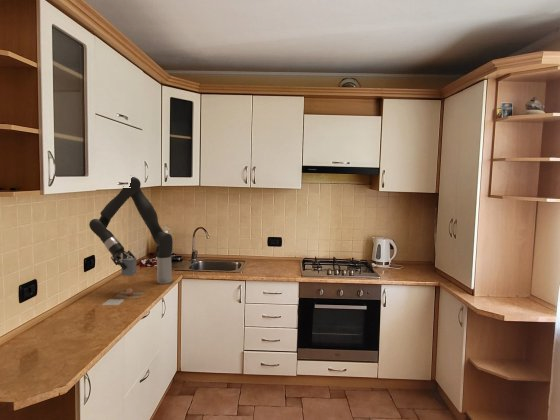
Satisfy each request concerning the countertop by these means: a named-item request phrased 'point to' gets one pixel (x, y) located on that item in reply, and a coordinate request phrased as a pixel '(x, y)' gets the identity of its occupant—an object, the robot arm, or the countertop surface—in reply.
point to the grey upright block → (129, 267)
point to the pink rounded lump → (129, 292)
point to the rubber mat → (113, 302)
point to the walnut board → (124, 295)
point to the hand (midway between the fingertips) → (130, 267)
